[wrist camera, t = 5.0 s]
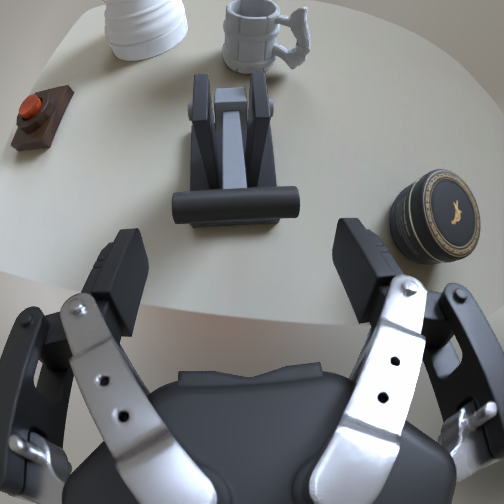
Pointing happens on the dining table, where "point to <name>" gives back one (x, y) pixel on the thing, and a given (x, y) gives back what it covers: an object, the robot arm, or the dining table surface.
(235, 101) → the switch lever
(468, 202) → the jar
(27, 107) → the button
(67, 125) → the dining table surface
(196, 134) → the dark stand
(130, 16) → the honey pot
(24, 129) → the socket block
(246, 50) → the mug
